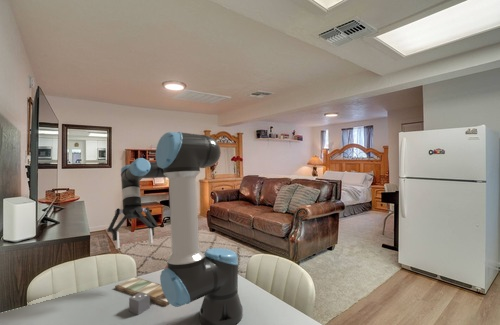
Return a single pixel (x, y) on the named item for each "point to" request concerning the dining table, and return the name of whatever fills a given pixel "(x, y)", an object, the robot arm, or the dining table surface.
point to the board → (144, 289)
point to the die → (139, 303)
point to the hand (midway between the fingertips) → (135, 246)
